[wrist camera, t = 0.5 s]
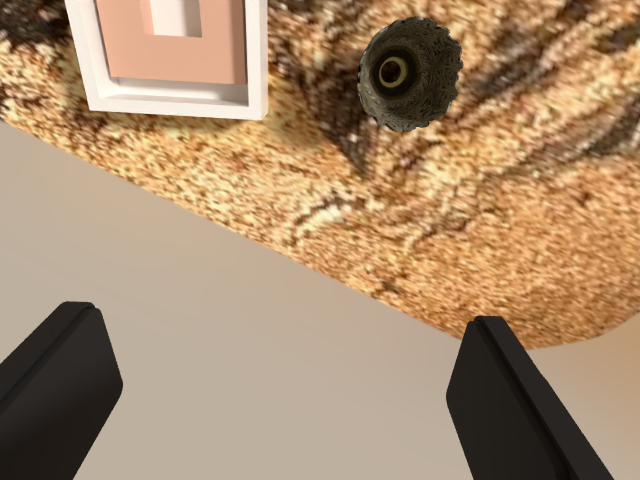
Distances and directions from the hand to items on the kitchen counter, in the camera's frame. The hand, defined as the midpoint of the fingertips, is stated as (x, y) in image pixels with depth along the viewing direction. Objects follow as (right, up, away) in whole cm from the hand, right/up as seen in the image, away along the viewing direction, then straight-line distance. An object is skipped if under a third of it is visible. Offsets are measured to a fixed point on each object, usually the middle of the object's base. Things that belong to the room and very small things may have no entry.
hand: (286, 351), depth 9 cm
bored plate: (-10, +22, +21) cm, 32 cm away
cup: (+7, +18, +23) cm, 30 cm away
